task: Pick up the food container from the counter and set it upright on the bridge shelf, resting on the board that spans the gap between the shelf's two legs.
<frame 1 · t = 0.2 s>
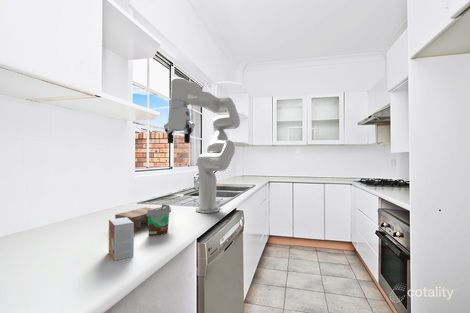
hand: (178, 143, 113), 36 cm above the countertop, tool pointing down, fingers open, 9 cm apart
food container: (162, 233, 97), on the countertop
bridge shelf: (139, 225, 106), on the countertop
small box: (120, 255, 76), on the countertop
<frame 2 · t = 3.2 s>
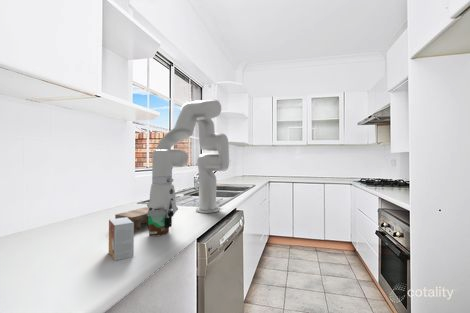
hand: (161, 225, 97), 3 cm above the countertop, tool pointing down, fingers closed on food container, 6 cm apart
food container: (162, 233, 97), on the countertop, touching gripper
everything else where it was.
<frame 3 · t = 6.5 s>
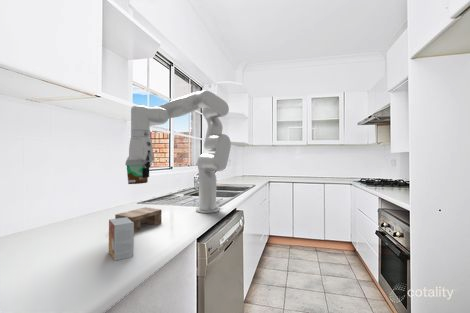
hand: (140, 176, 106), 21 cm above the countertop, tool pointing down, fingers closed on food container, 5 cm apart
food container: (141, 183, 105), point 18 cm above the countertop, touching gripper
everything else where it was.
when the fingers open (10 cm above the countertop, at t = 9.6 s): food container moves 1 cm, resting on bridge shelf.
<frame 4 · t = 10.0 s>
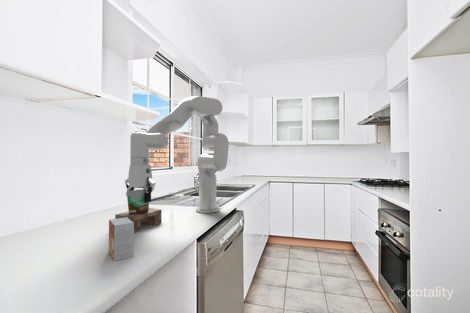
hand: (139, 200, 106), 11 cm above the countertop, tool pointing down, fingers open, 9 cm apart
food container: (142, 212, 105), point 6 cm above the countertop, touching bridge shelf
everything else where it was.
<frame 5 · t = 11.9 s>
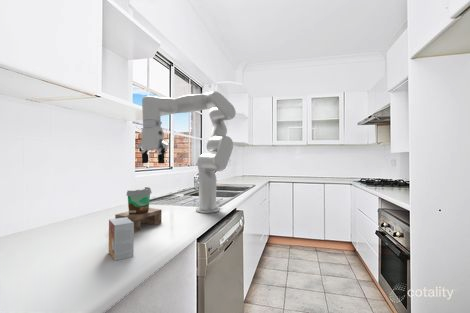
hand: (153, 163, 110), 27 cm above the countertop, tool pointing down, fingers open, 9 cm apart
nothing on the countertop moved.
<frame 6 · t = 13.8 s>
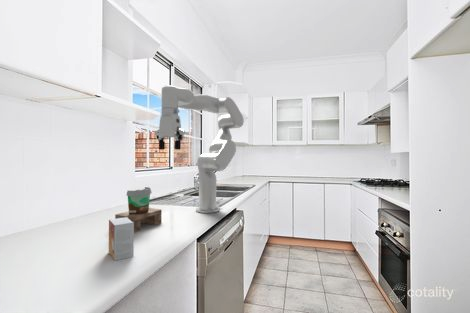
hand: (169, 149, 115), 33 cm above the countertop, tool pointing down, fingers open, 9 cm apart
nothing on the countertop moved.
at the end: food container 1.7 cm off-centre on the bridge shelf, point 5.8 cm above the bridge shelf's base; food container tilted 0°; the gripper is holding nothing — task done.
